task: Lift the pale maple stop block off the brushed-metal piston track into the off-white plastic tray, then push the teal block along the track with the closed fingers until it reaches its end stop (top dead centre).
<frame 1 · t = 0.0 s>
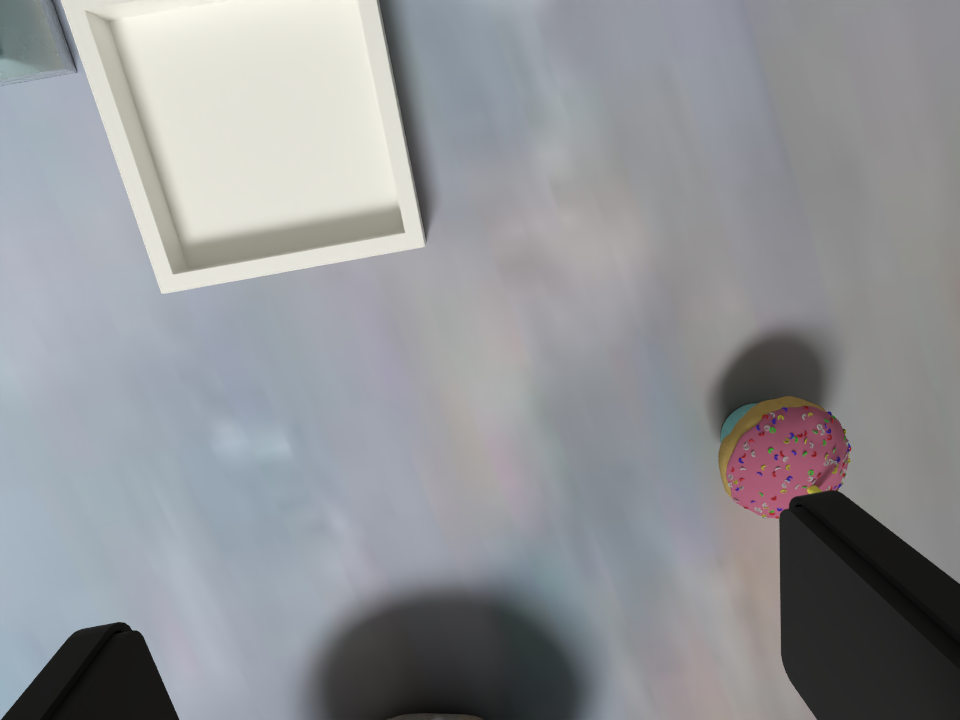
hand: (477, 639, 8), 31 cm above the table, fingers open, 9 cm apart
tray: (271, 133, 35), on the table
cupcake: (747, 431, 43), on the table
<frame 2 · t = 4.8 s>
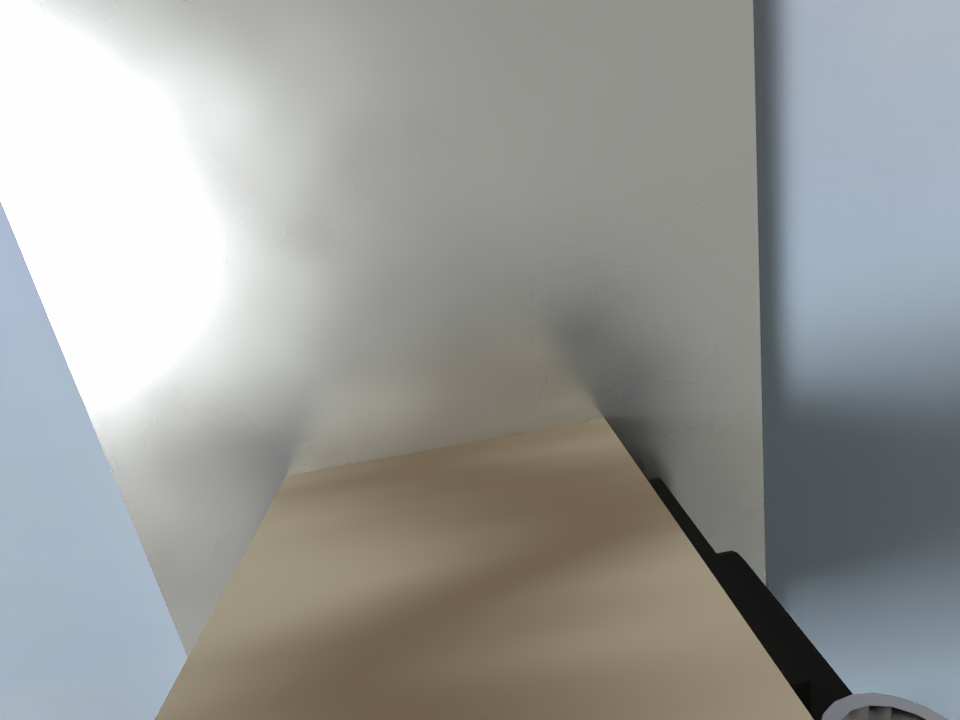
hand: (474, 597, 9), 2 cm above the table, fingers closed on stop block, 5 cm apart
stop block: (473, 579, 10), point 1 cm above the table, touching gripper, piston track
piston track: (478, 581, 11), on the table
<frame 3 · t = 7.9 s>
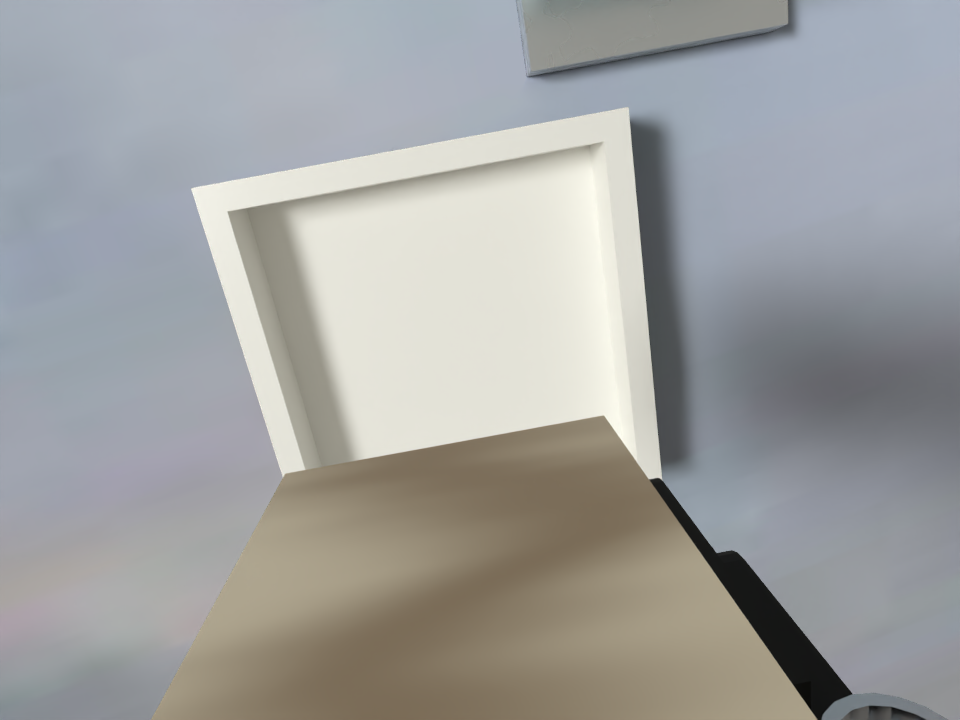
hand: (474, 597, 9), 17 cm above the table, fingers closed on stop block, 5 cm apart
stop block: (472, 577, 10), point 17 cm above the table, touching gripper
tray: (451, 337, 26), on the table
when the fingers open (3 cm above the table, at t = 11.0 s): stop block drops 2 cm, resting on tray.
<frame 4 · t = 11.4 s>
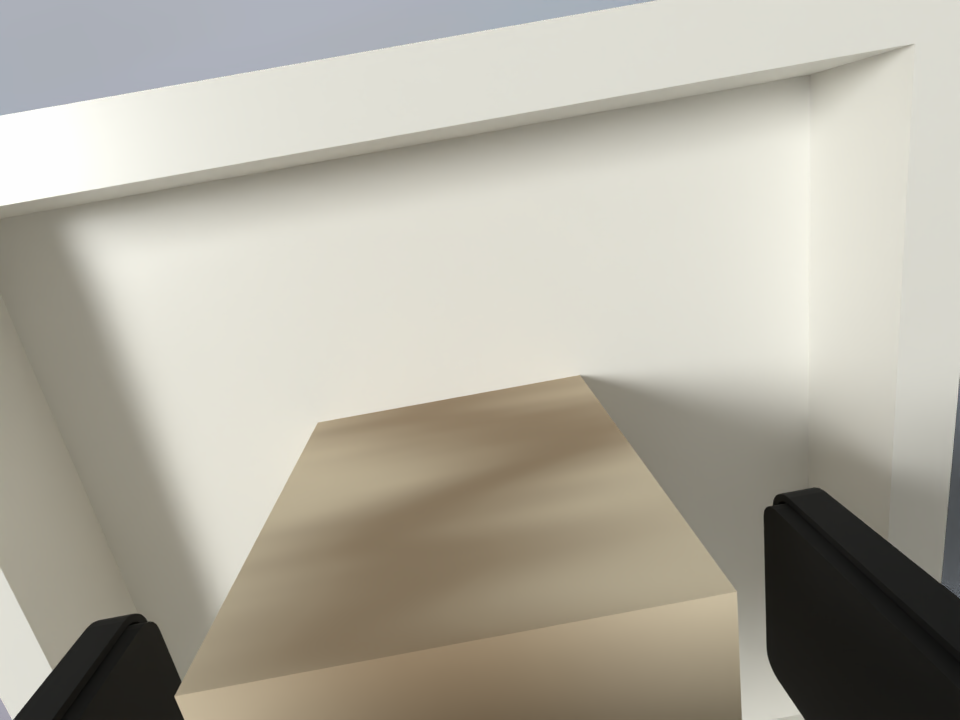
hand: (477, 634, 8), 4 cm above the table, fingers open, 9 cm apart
stop block: (471, 513, 11), point 1 cm above the table, touching tray
tray: (466, 494, 12), on the table
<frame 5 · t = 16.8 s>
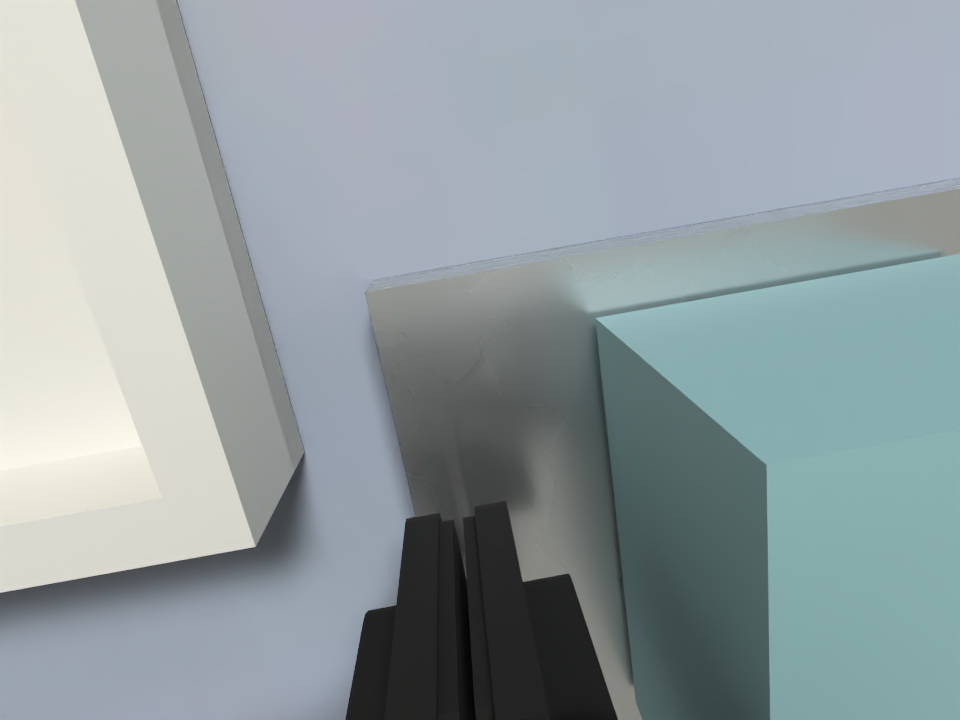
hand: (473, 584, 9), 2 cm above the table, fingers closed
teal block: (883, 598, 8), point 4 cm above the table, slide at 0.5 cm, touching gripper
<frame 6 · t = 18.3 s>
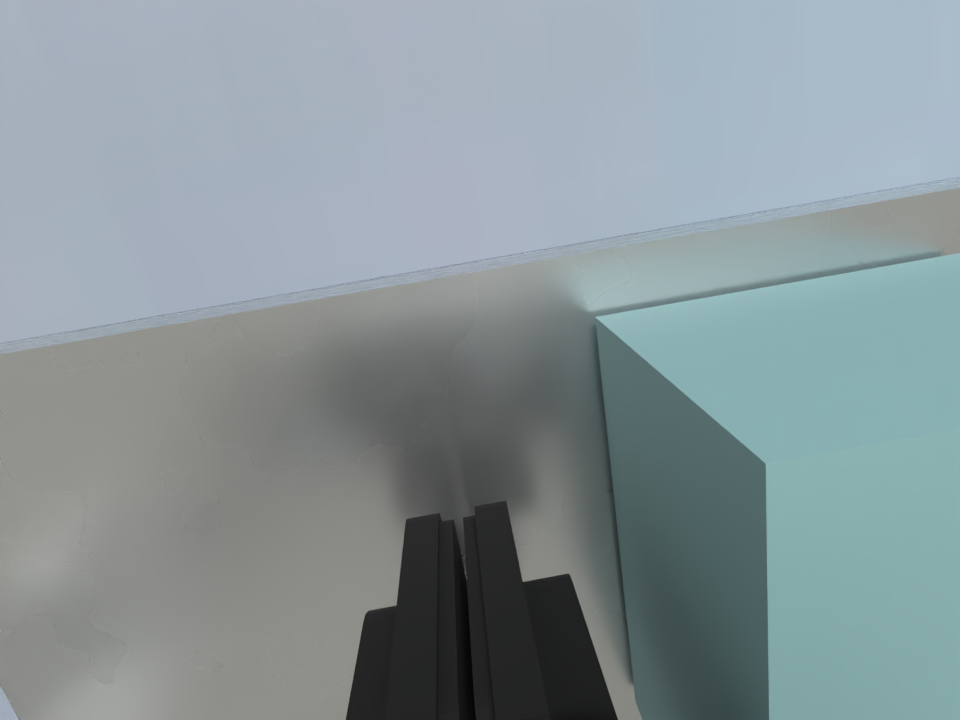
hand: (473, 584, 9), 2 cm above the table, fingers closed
teal block: (883, 597, 8), point 4 cm above the table, slide at 8.7 cm, touching gripper
piston track: (707, 471, 12), on the table
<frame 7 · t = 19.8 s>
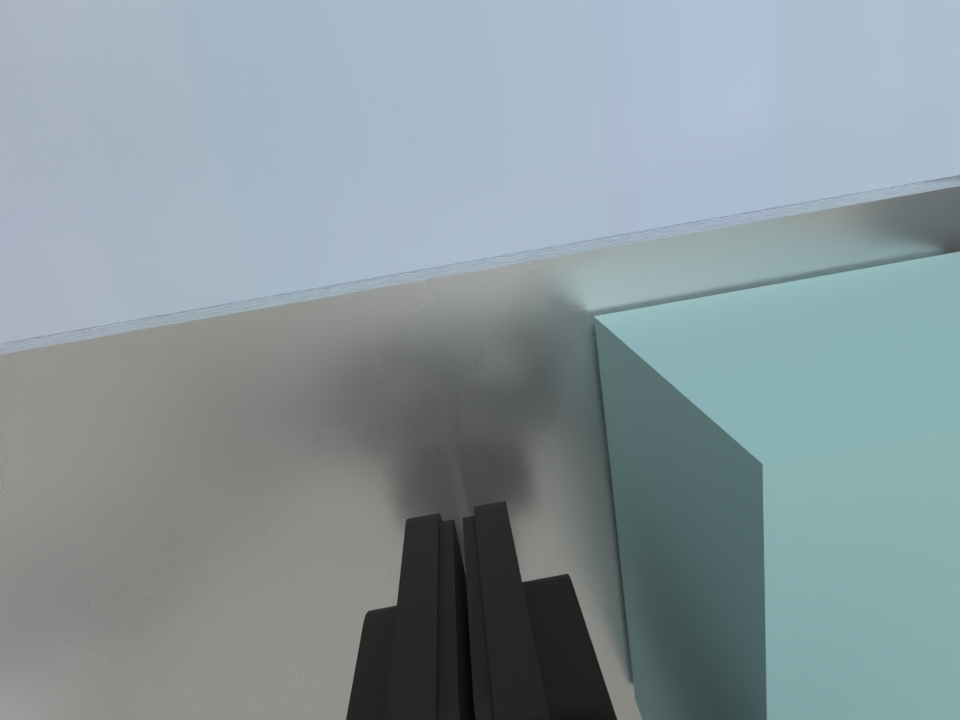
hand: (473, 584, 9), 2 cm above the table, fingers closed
teal block: (883, 597, 8), point 4 cm above the table, slide at 16.1 cm, touching gripper
piston track: (350, 535, 12), on the table
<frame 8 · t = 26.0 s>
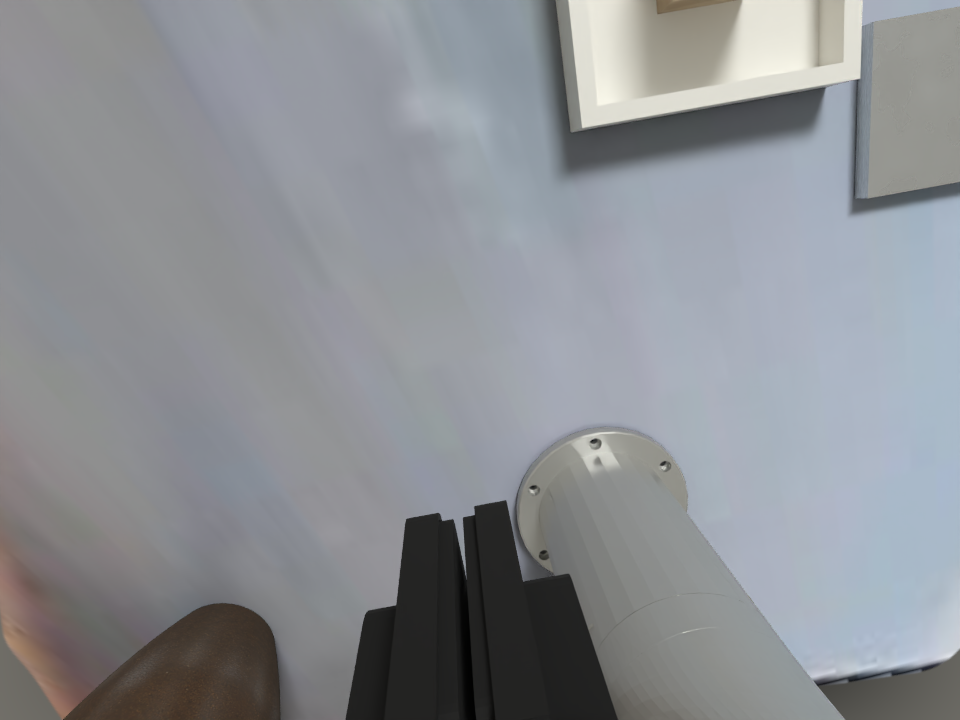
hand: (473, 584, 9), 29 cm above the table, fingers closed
plant pot: (228, 638, 44), on the table
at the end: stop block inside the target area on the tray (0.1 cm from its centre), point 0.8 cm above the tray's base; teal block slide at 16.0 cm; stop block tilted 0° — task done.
